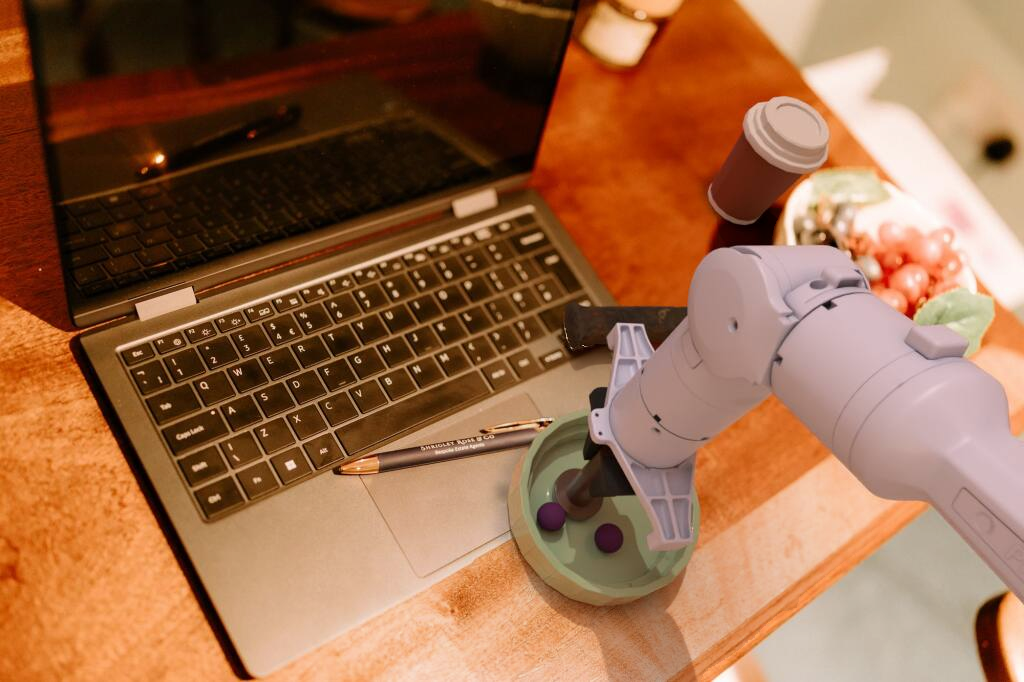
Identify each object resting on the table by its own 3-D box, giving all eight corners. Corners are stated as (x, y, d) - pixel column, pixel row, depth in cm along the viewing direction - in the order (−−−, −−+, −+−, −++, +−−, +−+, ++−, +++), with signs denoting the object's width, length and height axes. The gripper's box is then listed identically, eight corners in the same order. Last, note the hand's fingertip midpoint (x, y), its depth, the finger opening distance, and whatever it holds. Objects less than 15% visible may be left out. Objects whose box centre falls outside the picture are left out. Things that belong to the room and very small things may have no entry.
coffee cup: (696, 220, 75) (757, 138, 65) (696, 161, 80) (754, 76, 70) (773, 244, 76) (845, 167, 66) (769, 184, 81) (835, 104, 71)
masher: (597, 527, 54) (638, 492, 47) (548, 513, 54) (583, 476, 47) (603, 479, 56) (643, 439, 50) (556, 465, 56) (590, 423, 49)
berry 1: (559, 515, 54) (567, 537, 53) (532, 517, 54) (538, 539, 52) (563, 494, 53) (571, 515, 51) (535, 496, 53) (542, 517, 51)
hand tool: (563, 356, 62) (581, 330, 58) (556, 317, 64) (573, 290, 60) (747, 360, 67) (775, 336, 64) (736, 323, 69) (762, 299, 65)
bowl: (694, 599, 54) (720, 589, 51) (517, 613, 50) (533, 604, 47) (655, 427, 61) (676, 409, 58) (497, 428, 57) (510, 408, 54)
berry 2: (626, 549, 52) (612, 521, 52) (599, 560, 52) (586, 533, 53) (630, 543, 54) (617, 516, 54) (605, 554, 54) (592, 527, 55)
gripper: (598, 282, 42) (533, 382, 53) (647, 524, 35) (561, 580, 46) (702, 288, 44) (619, 383, 55) (769, 519, 37) (657, 573, 48)
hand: (598, 473), depth 51 cm, fingers closed on masher, 2 cm apart
